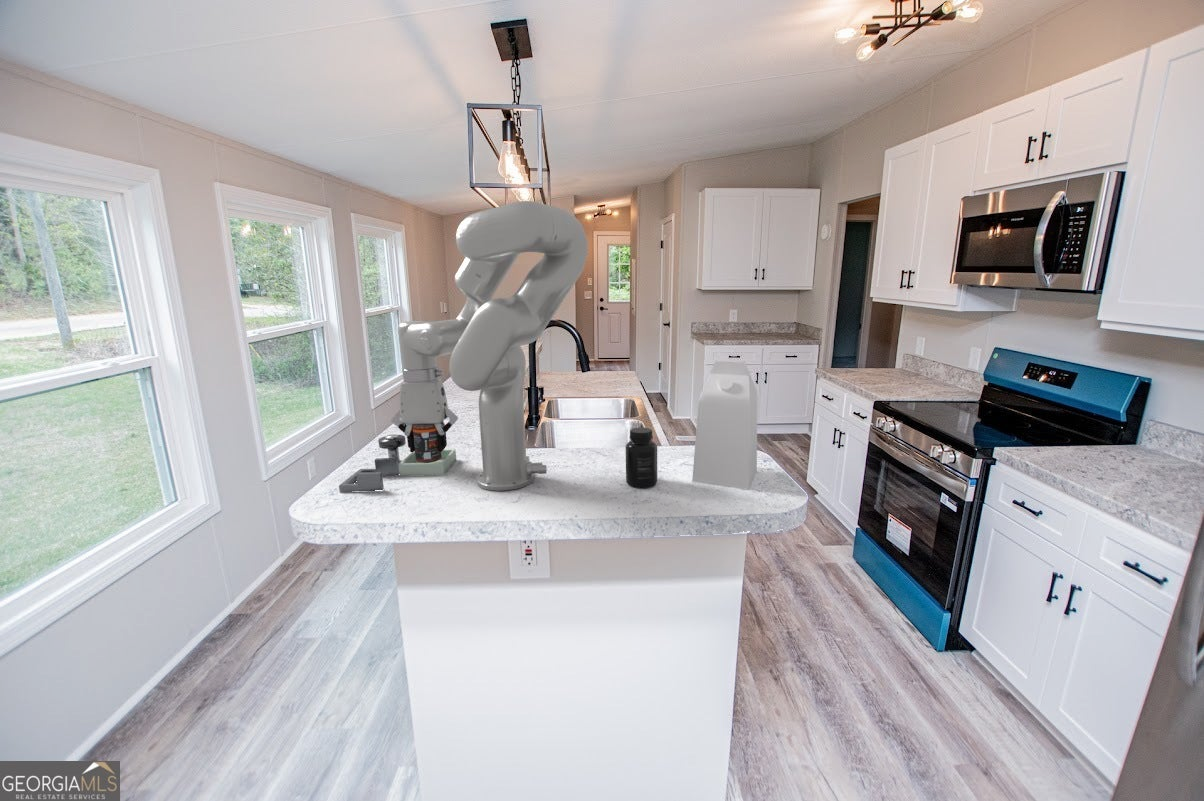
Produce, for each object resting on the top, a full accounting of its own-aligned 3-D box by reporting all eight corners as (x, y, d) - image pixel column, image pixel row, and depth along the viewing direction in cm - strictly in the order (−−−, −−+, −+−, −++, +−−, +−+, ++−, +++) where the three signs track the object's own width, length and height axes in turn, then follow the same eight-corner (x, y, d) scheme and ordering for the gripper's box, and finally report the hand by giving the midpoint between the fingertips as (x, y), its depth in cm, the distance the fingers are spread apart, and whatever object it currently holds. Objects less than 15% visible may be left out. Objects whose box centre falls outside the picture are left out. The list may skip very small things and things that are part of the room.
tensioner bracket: (399, 474, 117) (398, 457, 116) (382, 491, 107) (379, 473, 106) (361, 474, 117) (359, 458, 116) (339, 492, 107) (337, 474, 106)
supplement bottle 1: (434, 464, 117) (429, 417, 115) (410, 463, 118) (405, 416, 116) (446, 456, 123) (442, 411, 120) (424, 455, 124) (419, 410, 122)
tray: (456, 460, 126) (455, 449, 125) (444, 475, 116) (443, 463, 115) (415, 460, 126) (414, 450, 125) (399, 475, 116) (398, 464, 115)
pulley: (411, 461, 126) (408, 432, 124) (402, 469, 120) (399, 439, 118) (387, 461, 126) (384, 432, 124) (377, 470, 120) (373, 440, 118)
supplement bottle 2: (661, 479, 111) (662, 427, 109) (651, 491, 105) (651, 436, 103) (632, 475, 114) (632, 424, 111) (620, 486, 108) (620, 432, 105)
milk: (756, 471, 115) (763, 358, 109) (748, 490, 105) (755, 366, 99) (704, 464, 120) (708, 356, 114) (692, 481, 110) (695, 363, 104)
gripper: (462, 372, 120) (468, 444, 124) (389, 373, 120) (397, 446, 124) (453, 377, 112) (460, 454, 116) (375, 379, 112) (385, 456, 116)
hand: (428, 449), depth 120 cm, fingers closed on supplement bottle 1, 6 cm apart
